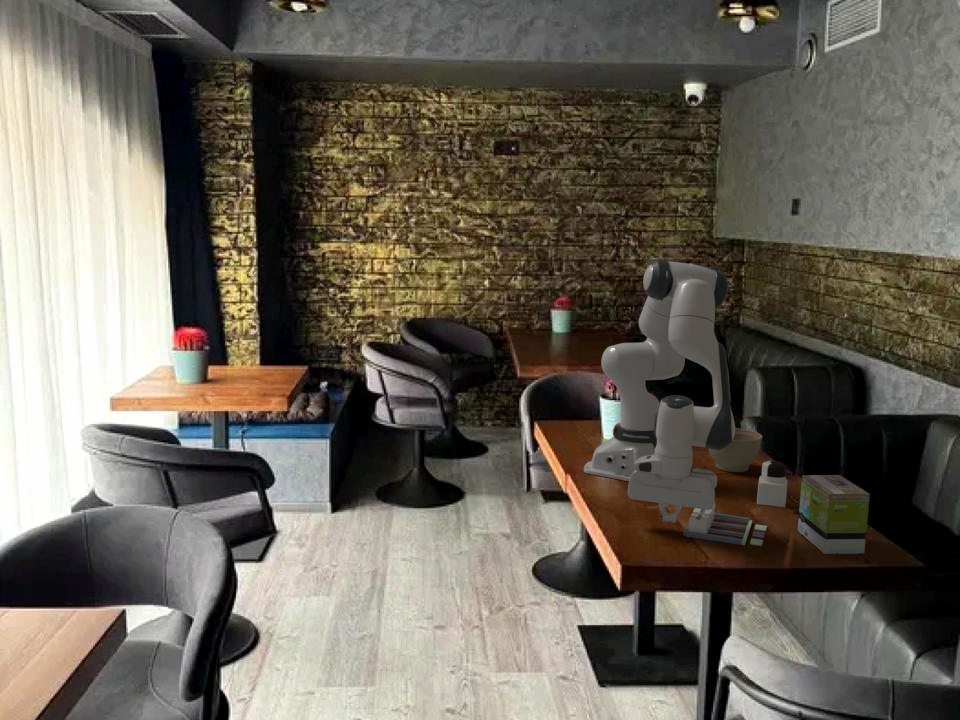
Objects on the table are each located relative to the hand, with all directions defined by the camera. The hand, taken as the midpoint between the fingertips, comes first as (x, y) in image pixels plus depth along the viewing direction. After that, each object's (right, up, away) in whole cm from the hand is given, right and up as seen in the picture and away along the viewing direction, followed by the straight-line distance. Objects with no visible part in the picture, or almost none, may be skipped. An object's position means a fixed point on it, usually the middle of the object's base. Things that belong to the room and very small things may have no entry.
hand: (669, 521), depth 219 cm
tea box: (+37, -5, -2) cm, 38 cm away
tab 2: (+10, -1, +8) cm, 13 cm away
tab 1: (+6, -2, -2) cm, 7 cm away
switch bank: (+12, -3, +2) cm, 13 cm away
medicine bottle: (+32, -1, +25) cm, 40 cm away
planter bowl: (+32, +5, +61) cm, 69 cm away
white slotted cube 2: (+8, -2, +3) cm, 9 cm away
